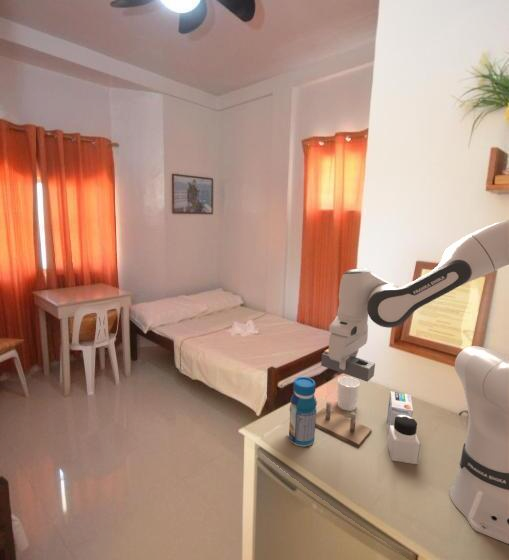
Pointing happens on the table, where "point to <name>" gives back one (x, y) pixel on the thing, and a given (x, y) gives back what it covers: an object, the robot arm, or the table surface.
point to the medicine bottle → (403, 440)
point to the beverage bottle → (303, 412)
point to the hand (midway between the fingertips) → (347, 365)
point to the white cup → (347, 393)
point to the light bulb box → (398, 407)
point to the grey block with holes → (350, 366)
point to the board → (342, 426)
